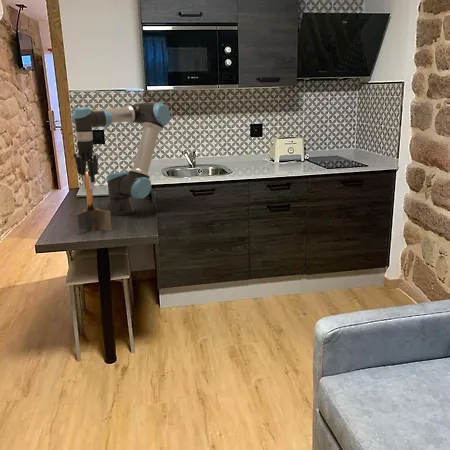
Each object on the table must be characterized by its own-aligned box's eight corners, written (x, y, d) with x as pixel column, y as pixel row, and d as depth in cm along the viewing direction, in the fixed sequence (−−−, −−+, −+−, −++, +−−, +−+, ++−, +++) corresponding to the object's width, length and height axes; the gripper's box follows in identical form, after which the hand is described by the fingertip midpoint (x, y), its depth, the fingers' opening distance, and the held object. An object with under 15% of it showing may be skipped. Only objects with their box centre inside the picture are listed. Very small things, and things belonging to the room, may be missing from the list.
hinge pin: (90, 208, 237) (86, 170, 232) (95, 208, 236) (91, 171, 231) (86, 209, 234) (83, 171, 229) (91, 210, 233) (88, 172, 228)
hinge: (91, 226, 242) (89, 207, 239) (114, 229, 237) (113, 209, 234) (73, 233, 229) (71, 213, 227) (97, 236, 224) (95, 216, 221)
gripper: (66, 140, 226) (70, 188, 232) (93, 141, 220) (97, 191, 226) (76, 139, 232) (80, 186, 239) (103, 140, 226) (107, 188, 233)
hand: (88, 188), depth 232 cm, fingers closed on hinge pin, 3 cm apart
